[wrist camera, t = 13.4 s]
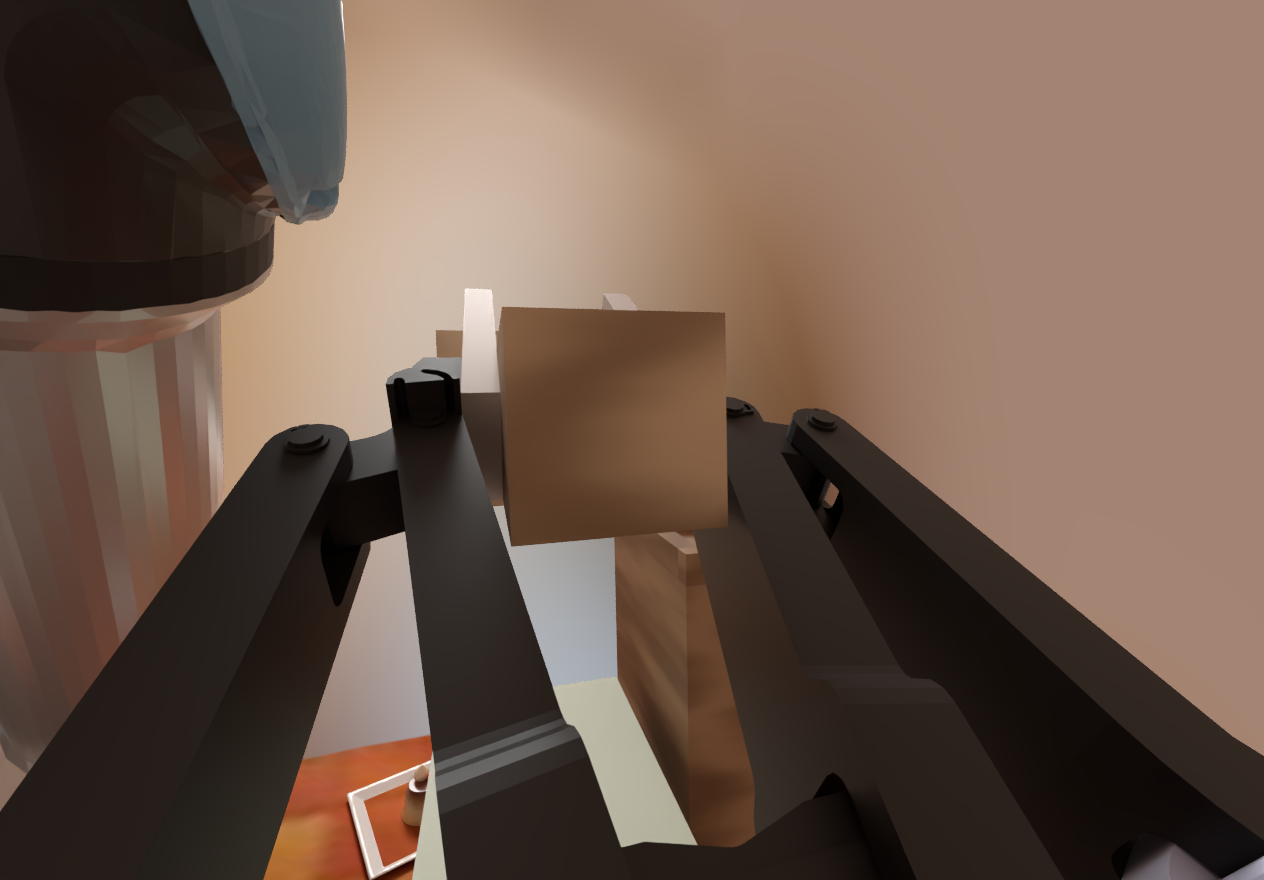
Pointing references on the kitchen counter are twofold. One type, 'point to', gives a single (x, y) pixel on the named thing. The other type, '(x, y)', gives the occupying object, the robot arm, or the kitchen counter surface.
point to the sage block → (619, 766)
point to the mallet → (609, 421)
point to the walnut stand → (682, 684)
